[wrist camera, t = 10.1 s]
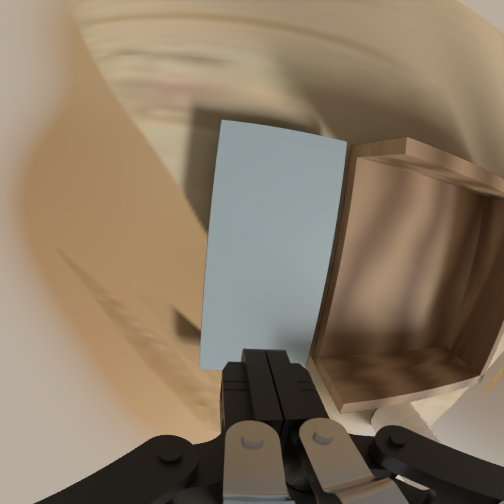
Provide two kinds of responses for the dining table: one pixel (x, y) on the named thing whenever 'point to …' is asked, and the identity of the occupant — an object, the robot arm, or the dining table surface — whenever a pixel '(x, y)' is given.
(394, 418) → the water bottle
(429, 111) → the dining table surface
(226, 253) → the rectangular panel
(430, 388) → the crate
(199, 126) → the dining table surface
